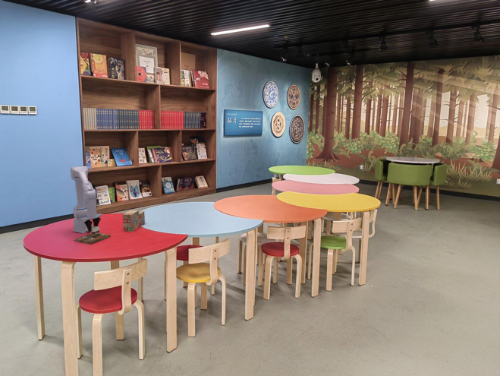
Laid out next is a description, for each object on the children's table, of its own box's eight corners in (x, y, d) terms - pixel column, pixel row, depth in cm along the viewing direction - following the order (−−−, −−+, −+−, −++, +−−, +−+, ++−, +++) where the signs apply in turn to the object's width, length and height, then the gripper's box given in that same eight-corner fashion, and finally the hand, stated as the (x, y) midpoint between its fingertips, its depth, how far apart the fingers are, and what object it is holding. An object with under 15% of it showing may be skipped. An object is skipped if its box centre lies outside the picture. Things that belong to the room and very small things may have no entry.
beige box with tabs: (84, 233, 241) (84, 226, 240) (89, 231, 245) (89, 225, 244) (94, 234, 237) (94, 228, 237) (99, 232, 241) (99, 226, 241)
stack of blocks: (137, 223, 280) (136, 206, 278) (145, 223, 279) (144, 207, 277) (123, 231, 259) (122, 213, 257) (132, 231, 258) (131, 214, 256)
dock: (74, 241, 237) (74, 237, 237) (94, 234, 252) (93, 230, 251) (91, 244, 232) (91, 240, 231) (110, 237, 246) (110, 233, 246)
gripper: (87, 212, 230) (88, 234, 232) (105, 207, 243) (106, 228, 245) (78, 211, 233) (80, 232, 235) (96, 206, 246) (97, 226, 248)
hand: (92, 230), depth 240 cm, fingers closed on beige box with tabs, 4 cm apart
